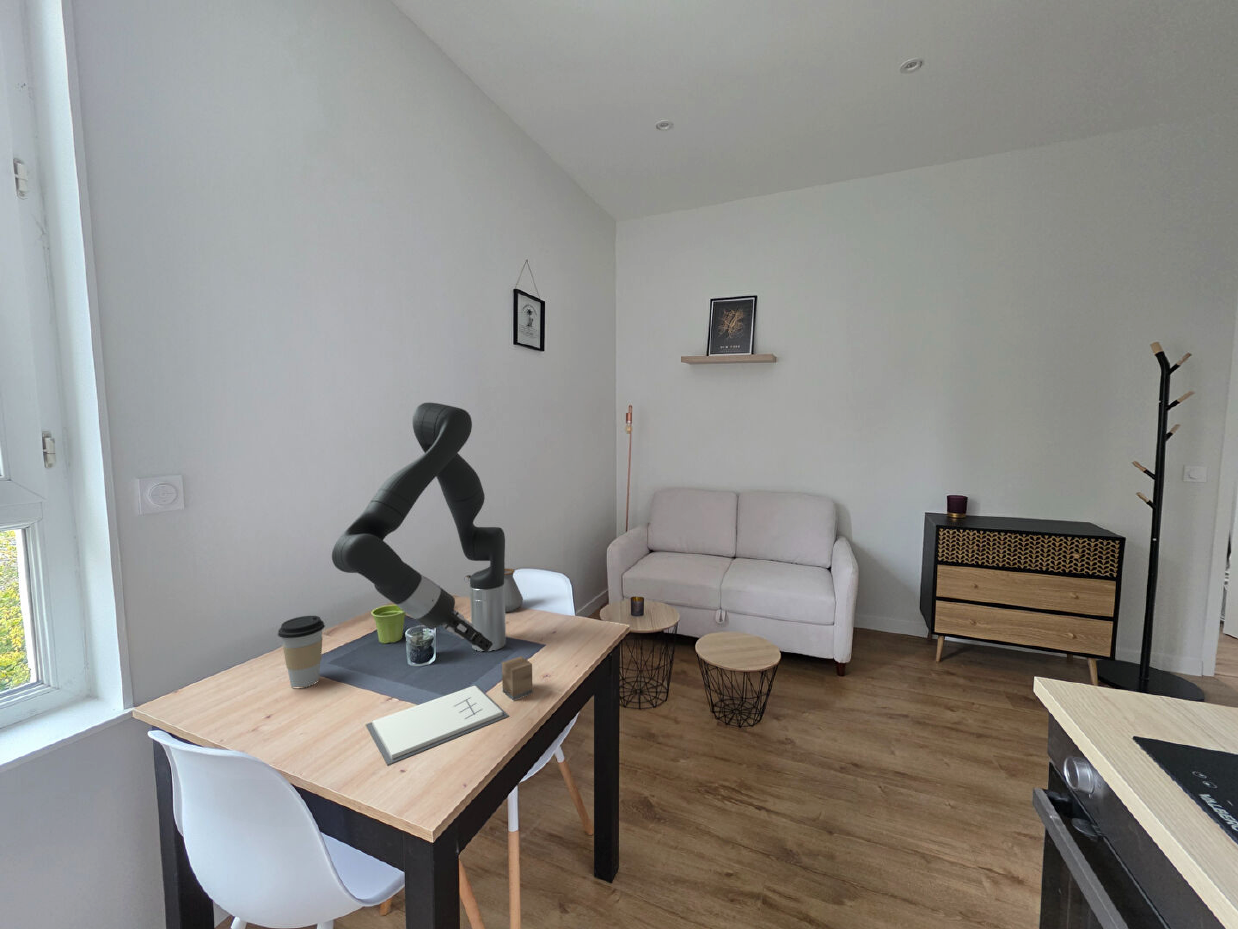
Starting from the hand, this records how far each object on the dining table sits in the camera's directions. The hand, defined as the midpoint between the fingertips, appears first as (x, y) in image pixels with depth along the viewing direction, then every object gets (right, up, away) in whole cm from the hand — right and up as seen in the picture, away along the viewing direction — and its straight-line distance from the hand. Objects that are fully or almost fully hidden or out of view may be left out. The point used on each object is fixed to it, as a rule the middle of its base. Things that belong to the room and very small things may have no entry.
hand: (480, 641), depth 109 cm
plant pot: (-36, -12, +36) cm, 52 cm away
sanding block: (+7, -14, +6) cm, 17 cm away
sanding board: (-8, -15, -5) cm, 17 cm away
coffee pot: (-11, -11, +56) cm, 58 cm away
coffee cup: (-45, -14, +12) cm, 49 cm away
